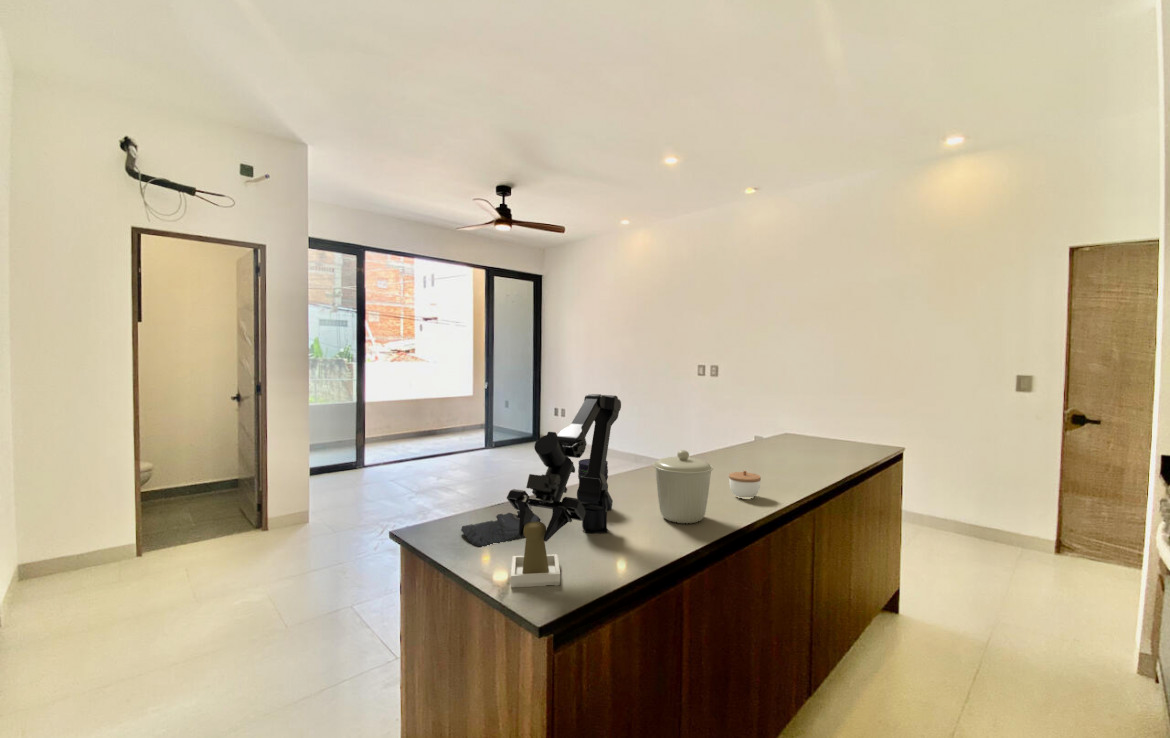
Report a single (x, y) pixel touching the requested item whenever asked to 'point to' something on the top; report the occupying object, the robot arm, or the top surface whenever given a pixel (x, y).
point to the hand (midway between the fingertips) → (532, 538)
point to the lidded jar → (744, 484)
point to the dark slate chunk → (495, 530)
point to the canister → (683, 487)
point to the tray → (535, 578)
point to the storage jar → (584, 468)
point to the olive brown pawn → (535, 549)
